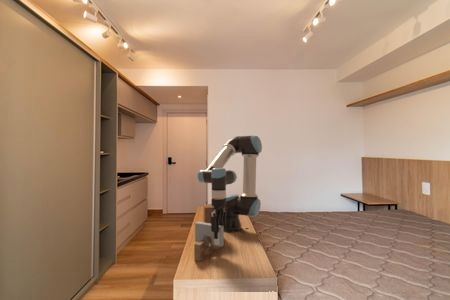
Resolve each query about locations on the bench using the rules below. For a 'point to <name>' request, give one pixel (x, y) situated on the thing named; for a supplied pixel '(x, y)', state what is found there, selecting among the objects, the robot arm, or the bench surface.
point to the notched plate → (207, 233)
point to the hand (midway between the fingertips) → (218, 243)
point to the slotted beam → (203, 249)
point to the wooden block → (207, 214)
